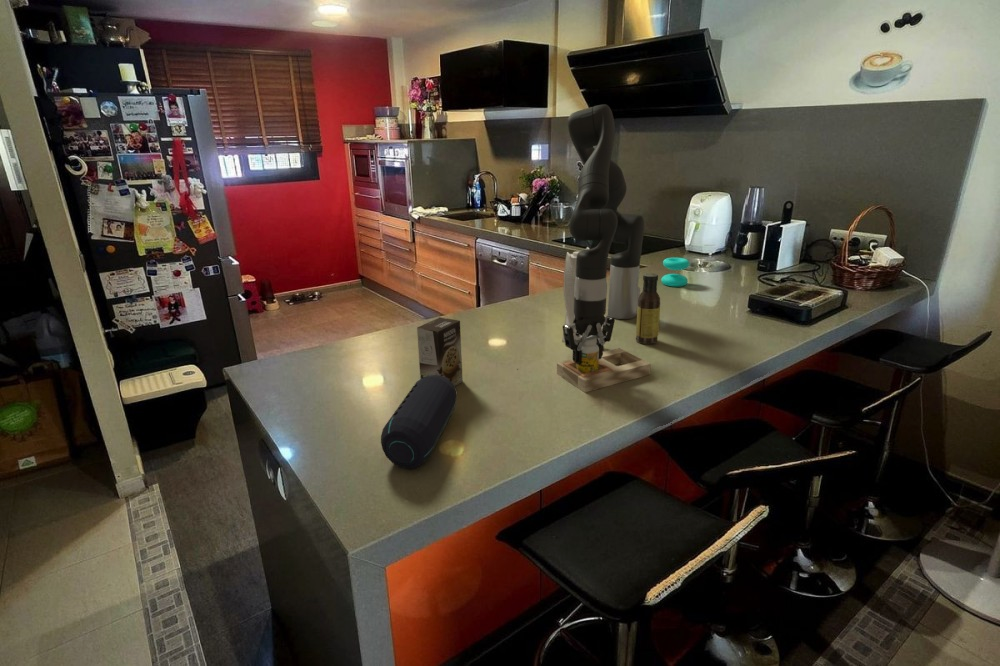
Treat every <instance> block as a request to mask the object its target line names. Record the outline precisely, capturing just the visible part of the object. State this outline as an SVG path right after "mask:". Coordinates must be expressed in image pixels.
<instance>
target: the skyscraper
mask: <svg viewBox="0 0 1000 666" xmlns="http://www.w3.org/2000/svg"><path fill="white" fill-rule="evenodd" d="M587 249H590V247H588V246H587V247H586V248H585V250H587ZM579 252H580V251H573V252H572V253H570V252H568V251H567V252H566V255H565V259H564V270H563V285H562V286H563V298H564V299H563V300H564V305H565V310H566V313H565V319H564V324H563V325H565V324H566V325H570V324H572V323H573V321H574V319H575V315H574V287H575V280H576V259H577V254H578V253H579ZM575 331H576V329H574V332H575ZM573 335H574V333H573ZM581 336H582V335H580V337H581ZM561 338H562V339H561V341H562V343H563V342H564V343H565V339H564V333H563V332H562V337H561ZM578 342H579V341H578Z"/></svg>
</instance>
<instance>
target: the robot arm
mask: <svg viewBox="0 0 1000 666" xmlns="http://www.w3.org/2000/svg"><path fill="white" fill-rule="evenodd" d="M614 118H615V117H614V115H613V111H612V109H611V107H610V106H609V105H608V104H606V103H605V104H604V103H603V104H598V105H594V106H591V107H587V108H583V109H580V110H576V111H574V112H573V113H571V114H570V115H568V118H567V130H568V134H569V137H570V140H571V142H572V144H573V146H574V148H575V151H576V153H577V155H578V156H579V157H578V158H580V161H581V163H582V165H583V166H582V168H581V170H580V173H579V176H578V183H577V184H578V187H577V188H578V189H577V201H576V204H575V206H574V209H573V211H572V212H571V213H572V214H571V216H570V220H569V225H568V229H569V233H570V236H572V238H573V239H575V240H576V241H599V243H598V244H597V246H594V247H592V248H589V249H587V250H586V249H583V250H580V251H579V253H578V254H577V259H576V280H575V287H574V315H575V319H574V321H573V323H572V324H570V325H566V324H565V323H564V324H565V325H564V324H563V326H562V331H563V332H562V334H563V333H564V339H565V342H564V345H565V347H566V348H568V349H570V350H572V358H571V359H573V361H574V362H575V363H576V364H578V365H579V364H581V359H582V350H581V348H582V346H583V343H584V342H585V341H586V339H587V337H589V336H591V335H592V336H595V337H596V338H597V343H596V345H598V347H599V359H601V357H602V355H603V352H604V345H605V343H607V342H610V341H611V340H612V335H613V329H614V326H615V320H616V319H617V320H628V319H629V320H630V319H635V318H636V317H637V308H638V298H639V296H640V294H641V287H640V286H639V279H640V267H641V258H642V252H643V251H642V249H643V240H644V234H645V233H644V232H645V219H644V217H643V216H642V215H641V214H632V213H621V212H619V211H618V208H619V206H620V204H622V201H623V200H624V198H625V197H626V193H627V182H626V179H625V177H624V174H623V170H622V169H621V167H620V166H619V165H618V164H617V163H616V162H615V161H614V160H612V155H613V148H614V143H615V134H616V133H615V132H616V127H615V119H614ZM612 243H615V244H624V245H628V247H627V249H626V250H624V251H622V252H618V253H614V254H612V255H611V257H610V263H609V264H610V268H609V282H607V274H608V273H607V272H608V271H607V270H608V269H607V268H608V258H609V254H610V249H611V246H612ZM608 283H609V284H608ZM608 285H609V286H608ZM607 290H608V291H607ZM607 294H608V300H607ZM607 301H608V302H607ZM606 309H607V312H606ZM606 314H607V315H606ZM574 329H576V331H575V332H574ZM573 333H574V335H573ZM580 335H582V337H580ZM578 341H579V342H578Z"/></svg>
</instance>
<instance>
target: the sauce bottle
mask: <svg viewBox="0 0 1000 666" xmlns="http://www.w3.org/2000/svg"><path fill="white" fill-rule="evenodd" d="M642 279H643V280H642V281H643V283H642V284H643V285H642V291H641V292H640V296H639V298H638V308H637V316H636V328H635V329H636V330H635V334H636V335H635V336H636V337H635V340H636V342H638V343H639V344H643V345H652V344H655V343H657V342H658V337H659V328H660V316H661V314H660V313H661V297H660V295H659V293H658V291H657V289H658V281H659V274H657V273H652V272H649V273H643V275H642Z"/></svg>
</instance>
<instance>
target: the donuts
mask: <svg viewBox="0 0 1000 666" xmlns="http://www.w3.org/2000/svg"><path fill="white" fill-rule="evenodd" d="M690 264H691V263H690V261H689V260H688V259H687V258H684V257H683V258H682V257H667V258H665V259H664V260H663V261H662V265H663V266H664V267H665V268H666V269H668V270H671V271H683V270H686V269H688V268H689V267H690ZM660 282H661V283H662V284H663V285H665V286H668V287H676V288H678V287H684V286H686V285H687V284H688V282H689V280H688V278H687V277H686V276H685V275H683V274H680V273H679V274H678V273H668V274H665V275H663V276H662V277H661V281H660Z"/></svg>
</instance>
